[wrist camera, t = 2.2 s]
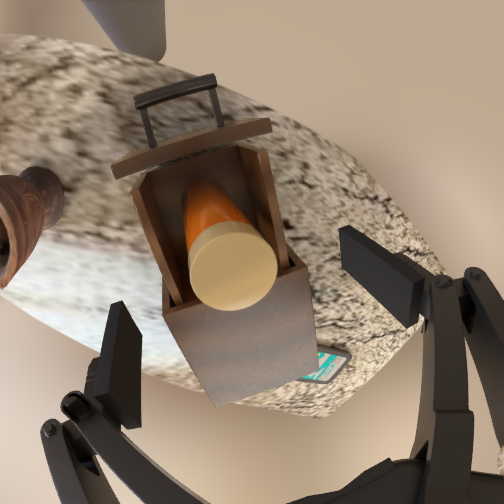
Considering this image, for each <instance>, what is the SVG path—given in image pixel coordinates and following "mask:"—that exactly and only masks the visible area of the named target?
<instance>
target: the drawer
mask: <svg viewBox="0 0 504 504" xmlns="http://www.w3.org/2000/svg"><path fill="white" fill-rule="evenodd" d="M215 88H217V81H216V77H215V75H214V73H212V74H207V75H203V76H199V77H195V78H191V79H187V80H183V81H180V82H176V83H173V84H169V85H166V86H163V87H159V88H156V89H153V90H150V91H147V92H144V93H141V94H138V95H135V96H134V97H133V99H134V103H135V107H136V109H137V111H140V115H141V118H142V122H143V125H144V129H145V132H146V136H147V139H148V143H149V146H147V147H144V148H141V149H138V150H136V151H133V152H130V153H128V154H126V155H125V156H124V157H122V158H121V159H119V160H118V161H116V162H115V163H114V164H112V165H111V169H112V172H113V175H114V177H115V180H117V179H120V178H122V177H125V176H127V175H130V174H133V173H135V172H138V171H141V170H144V169H146V168H149V167H152V166H155V165H158V164H161V163H164V162H167V161H170V160H173V159H176V158H179V157H182V156H185V155H188V154H192V153H195V152H198V151H202V150H205V149H209V148H212V147H216V146H219V145H223V144H227V143H230V142H234V141H238V140H242V139H246V138H250V137H254V136H258V135H263V134H267V133H271V132H272V127H271V123H270V118H247V119H239V120H235V121H231V122H227V123H224V121H223V117H222V113H221V109H220V105H219V101H218V97H217V93H216V89H215ZM205 90H208V94H209V98H210V102H211V105H212V109H213V113H214V117H215V121H216V125H215V126H211V127H208V128H204V129H200V130H197V131H193V132H190V133H187V134H183V135H180V136H177V137H174V138H171V139H168V140H164V141H161V142H158V143H156V140H155V137H154V133H153V130H152V126H151V123H150V119H149V115H148V112H147V108H148V107H150V106H154V105H157V104H160V103H163V102H166V101H169V100H173V99H176V98H179V97H183V96H186V95H190V94H194V93H198V92H201V91H205ZM201 181H211V182H215V183H217V184H219V185H220V186H221V187H222V188H223V189H224V190H225V191H226V192H227V194H228V195H229V196H230V198H231V199H232V200H233V201H234V203H235V204H236V205H237V206H238V208H239V209H240V210H241V212H242V213H243V214H244V215H245V217H246V218H247V219H248V221H249V222H250V223H251V224H252V226H253V227H254V228H255V229H256V230H257V231H259V232H260V234H261V235H262V236H263V237H264V239H265V240H266V241H267V242H268V244H269V245H270V246H271V248H272V249H273V251H274V253H275V255H276V259H277V266H278V267H277V272H280V271H283V270H285V269H288V268H290V264H289V259H288V253H287V248H286V242H285V237H284V232H283V227H282V221H281V216H280V211H279V206H278V201H277V196H276V191H275V186H274V182H273V177H272V172H271V167H270V162H269V158H268V153H267V150H264V149H261V148H258V147H255V146H251V145H248V144H244V143H239V144H235V145H232V146H228V147H224V148H220V149H217V150H213V151H210V152H206V153H203V154H200V155H196V156H193V157H190V158H187V159H183V160H180V161H177V162H174V163H171V164H168V165H165V166H162V167H159V168H156V169H153V170H151V171H148V172H145V173H142V174H140V176H139V178H138V180H137V181H136V183H135V185H134V186H133V188H132V190H131V191H130V195H131V197H132V200H133V203H134V206H135V208H136V211H137V214H138V217H139V219H140V222H141V224H142V227H143V230H144V232H145V235H146V237H147V240H148V242H149V245H150V247H151V250H152V252H153V254H154V257H155V259H156V262H157V264H158V266H159V269H160V271H161V273H162V276H163V278H164V280H165V283H166V285H167V287H168V289H169V291H170V294H171V296H172V298H173V300H174V302H175V305H176V306H178V305H182V304H185V303H188V302H191V301H194V300H197V299H199V298H198V297H197V295H196V294H195V292H194V291H193V288H192V285H191V282H190V275H189V269H188V252H187V245H186V238H185V231H184V224H183V216H182V209H181V202H182V198H183V195H184V193H185V192H186V190H187V189H188V188H189V187H190V186H192V185H193V184H195V183H197V182H201Z"/></svg>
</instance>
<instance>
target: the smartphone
mask: <svg viewBox="0 0 504 504" xmlns="http://www.w3.org/2000/svg"><path fill="white" fill-rule="evenodd" d="M317 350H318V360H319V370H318V371H316V372H314V373H311V374H309V375H307V376H304V377H302V378H299V379H297V380H295V381H302V382H309V383H318V384H328V383H330V382H332V381H333V380H334V379H335V377H336V376H337V375H338V374H339V373H340V372H341V371H342V369H343V368H344V367H345V366H346V365H347V364H348V362H349V361H350V360H351V358H352V355H351V354H350V353H349V352H347V351H342V350H338V349H334V348H330V347H325V346H321V345H317Z"/></svg>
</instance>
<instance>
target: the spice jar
mask: <svg viewBox="0 0 504 504" xmlns="http://www.w3.org/2000/svg"><path fill="white" fill-rule="evenodd" d="M181 209H182V216H183V224H184V231H185V238H186V245H187V252H188V269H189V275H190V282H191V285H192V288H193V291H194V292H195V294H196V295H197V297H198V298H199V299H200V300H201V301H202V302H203V303H205V304H206V305H208V306H210V307H212V308H215V309H218V310H224V311H234V310H240V309H244V308H247V307H249V306H251V305H253V304H255V303H257V302H258V301H260V300H261V299H262V298H263V297H264V296H265V295H266V294H267V293H268V292H269V291H270V289H271V287H272V286H273V284H274V282H275V279H276V275H277V267H278V266H277V259H276V255H275V253H274V251H273V249H272V248H271V246H270V245H269V244H268V242H267V241H266V240H265V239H264V237H263V236H262V235H261V234H260V232H259V231H257V230H256V229H255V228H254V227H253V226H252V224H251V223H250V222H249V221H248V219H247V218H246V217H245V215H244V214H243V213H242V212H241V210H240V209H239V208H238V206H237V205H236V204H235V203H234V201H233V200H232V199H231V198H230V196H229V195H228V194H227V192H226V191H225V190H224V189H223V188H222V187H221V186H220V185H219V184H217V183H215V182H211V181H201V182H197V183H195V184H193V185H192V186H190V187H189V188H188V189H187V190H186V192H185V193H184V195H183V198H182V202H181Z"/></svg>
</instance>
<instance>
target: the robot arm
mask: <svg viewBox="0 0 504 504" xmlns="http://www.w3.org/2000/svg"><path fill="white" fill-rule="evenodd" d="M339 238H340V250H341V264H342V268H343V269H344V270H345V271H346V272H348V273H349V274H350V275H351V276H352V277H353V278H354V279H355V280H356V281H357V282H358V283H359V284H360V285H362V286H363V287H364V288H365V289H366V290H367V291H368V292H369V293H370V294H371V295H372V296H373V297H374V298H375V299H376V300H377V301H378V302H380V303H381V304H382V305H383V306H384V307H385V308H386V309H387V310H388V311H389V312H390V313H391V314H392V315H393V316H394V317H395V318H396V319H397V320H398V321H399V322H400V323H401V324H402V325H403V326H404V327H405V328H406V329H407V328H409V327H411V326H412V325H414V324H416V323H418V319H419V313H420V314H421V315H422V316H423V317H424V321H423V326H422V330H421V333H423V368H422V384H421V396H420V406H419V415H418V423H417V430H416V436H415V441H414V444H413V448H412V450H411V454H410V457H409V459H400V460H395V461H391V459H390V458H387V459H386V460H384V461H382V462H380V463H378V464H377V465H375V466H373V467H371V468H369V469H368V470H365V471H364V472H363V473H361V474H360V475H359V476H358V477H357V478H355V479H354V480H353V481H352V482H350V483H349V484H348V485H346V486H345V487H344V488H342V489H341V490H338V491H334V492H329V493H324V494H318V495H312V496H307V497H304V498H302V499H299V500H296V501H293V502H290V503H287V504H504V300H503V299H502V297H501V296H500V294H499V292H498V291H497V289H496V288H495V286H494V285H493V283H492V282H491V280H490V279H489V277H488V276H487V274H486V273H485V272H484V271H483V270H482V269H479V268H477V267H470V268H467V269H466V270H465V273H464V277H463V278H459V279H454V280H453V279H452V278H451V277H449V276H447V275H436V276H435V275H433V274H432V273H430V272H429V271H428V270H426V269H425V268H423V267H422V266H421V265H419V264H418V263H416V262H415V261H413V260H412V259H410V258H409V257H408V256H406V255H403V254H400V253H395V254H392V253H391V252H389V251H388V250H386V249H385V248H383V247H382V246H380V245H379V244H378V243H376V242H375V241H373V240H372V239H370V238H369V237H367V236H366V235H364V234H363V233H361V232H360V231H358V230H356V229H355V228H353V227H352V226H350V225H347V226H344V227H341V228H339ZM464 337H465V339H466V341H467V344H468V347H469V349H470V352H471V355H472V357H473V360H474V363H475V366H476V368H477V371H478V374H479V377H480V380H481V383H482V387H483V390H484V393H485V397H486V400H487V404H488V407H489V410H490V415H491V419H492V423H493V427H494V431H495V434H496V438H497V440H498V443H499V445H500V448H501V450H500V453H499V458H498V460H497V465H498V467H499V468H501V472H500V475H498V474H490V473H483V472H477V471H471V463H472V453H473V439H474V414H473V412H472V411H470V410H469V406H468V373H467V360H466V348H465V339H464ZM141 358H142V334H141V332H140V331H139V329H138V327H137V326H136V324H135V322H134V320H133V319H132V317H131V315H130V313H129V312H128V310H127V308H126V306H125V304H124V302H123V301H119V302H116V303H113V304H111V306H110V310H109V314H108V319H107V323H106V328H105V333H104V337H103V342H102V347H101V353H100V357H97V358H94V359H93V360H92V362H91V363H90V365H89V367H88V372H87V377H86V383H85V389H84V395H83V393H81V392H80V391H72V392H70V393H68V394H67V395H66V396H65V397H64V398H63V400H62V402H61V411H62V412H63V413H64V414H65V415H66V416H67V417H68V418H69V419H70V420H68V421H65V422H64V423H60V422H59V421H57V420H56V419H49V420H47V421H46V422H45V423H44V424H43V426H42V427H41V431H40V433H41V440H42V444H43V447H44V452H45V455H46V459H47V463H48V466H49V469H50V473H51V476H52V479H53V482H54V485H55V488H56V490H57V493H58V496H59V498H60V501H61V504H120V503H119V501H118V499H117V497H116V495H115V494H114V492H113V490H112V488H111V486H110V485H109V482H108V481H107V479H106V477H105V475H104V473H103V471H102V469H101V467H100V464H99V462H98V460H97V458H96V456H95V455H97V454H98V455H99V456H100V457H101V458H102V460H103V461H104V462H105V463H106V464H107V465H108V467H109V468H110V469H111V470H112V471H113V472H114V473H115V474H116V475H117V477H118V478H119V479H120V480H121V481H122V482H123V483H124V484H125V485H126V486H127V487H128V488H129V489H130V490H131V491H132V492H133V493H134V494H135V495H136V496H137V497H138V498H139V499H140V500H141V501H143V503H145V504H210V503H209V502H207V501H206V500H204V499H203V498H201V497H200V496H199V495H197V494H195V493H194V492H193V491H191V490H190V489H189V488H187V487H186V486H185V485H183V484H182V483H181V482H179V481H178V480H177V479H175V478H174V477H173V476H171V475H170V474H169V473H168V472H166V471H165V470H164V469H163V468H161V467H160V466H159V465H158V464H157V463H155V462H154V461H153V460H152V459H151V458H150V457H149V456H147V455H146V454H145V453H144V452H143V451H142V450H141V449H140V448H139V447H137V446H136V445H135V444H134V443H133V442H132V441H131V440H130V439H129V438H128V437H127V436H126V435H125V434H124V433H123V432H121V424H122V425H123V426H124V427H125V428H126V429H128V430H129V429H135V428H140V427H142V425H141Z"/></svg>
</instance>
